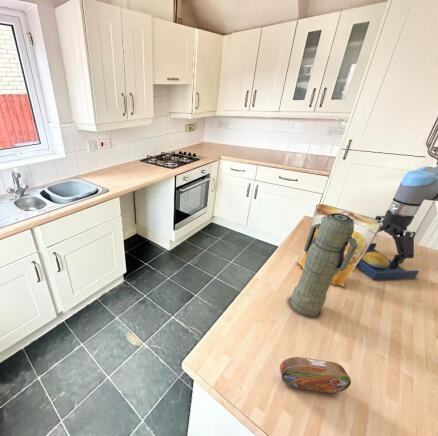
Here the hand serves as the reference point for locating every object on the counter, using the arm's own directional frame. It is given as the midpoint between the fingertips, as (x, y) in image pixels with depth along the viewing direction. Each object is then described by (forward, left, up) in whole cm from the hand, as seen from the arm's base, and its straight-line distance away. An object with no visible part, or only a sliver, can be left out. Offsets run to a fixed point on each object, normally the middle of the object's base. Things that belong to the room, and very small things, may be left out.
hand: (377, 257), depth 101 cm
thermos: (+43, +21, -3) cm, 47 cm away
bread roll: (0, 0, -3) cm, 3 cm away
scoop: (+5, 0, -3) cm, 6 cm away
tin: (+56, +45, -3) cm, 72 cm away
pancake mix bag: (+26, +5, -3) cm, 27 cm away
